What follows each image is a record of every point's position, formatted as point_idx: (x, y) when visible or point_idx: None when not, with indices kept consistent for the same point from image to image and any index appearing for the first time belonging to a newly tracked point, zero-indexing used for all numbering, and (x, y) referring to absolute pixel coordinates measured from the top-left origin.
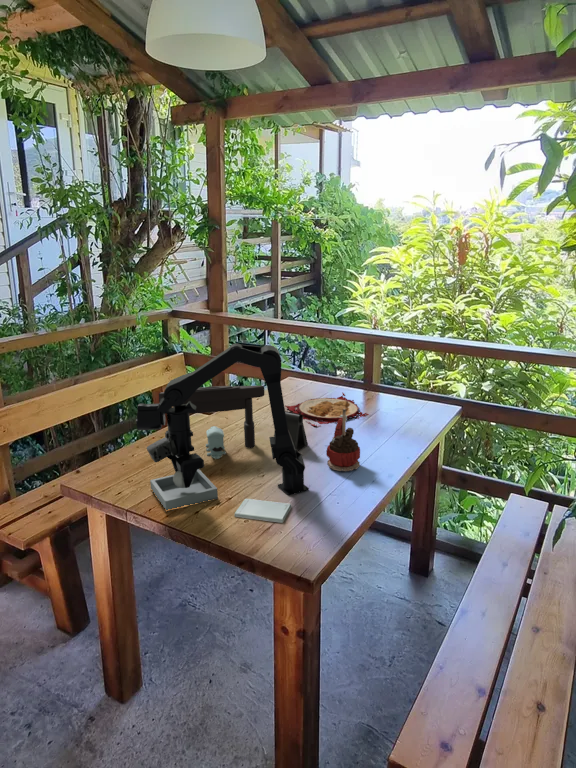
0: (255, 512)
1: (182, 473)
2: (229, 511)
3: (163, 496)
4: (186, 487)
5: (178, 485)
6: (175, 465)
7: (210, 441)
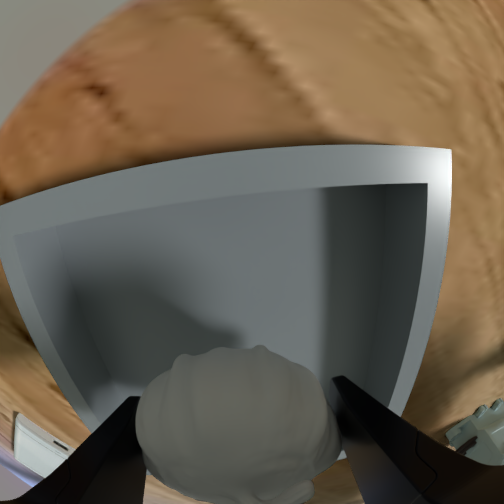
0: (27, 448)
1: (31, 496)
2: (43, 418)
3: (49, 203)
4: (129, 401)
5: (168, 370)
6: (390, 468)
7: (492, 450)
